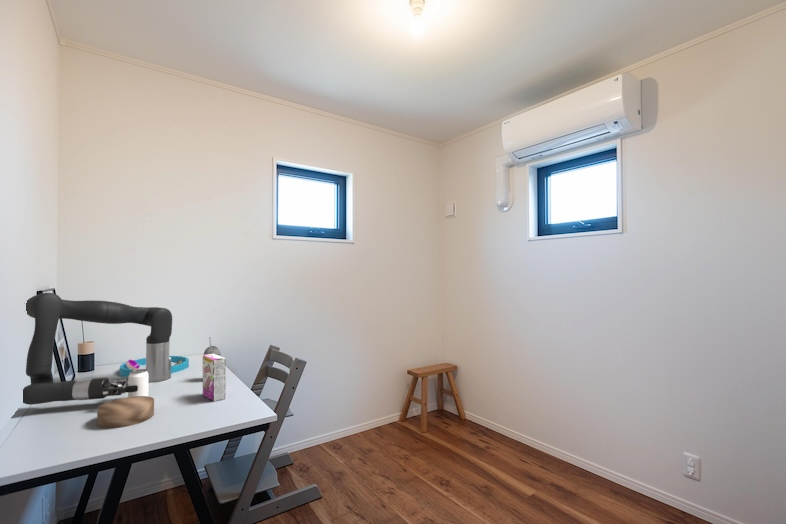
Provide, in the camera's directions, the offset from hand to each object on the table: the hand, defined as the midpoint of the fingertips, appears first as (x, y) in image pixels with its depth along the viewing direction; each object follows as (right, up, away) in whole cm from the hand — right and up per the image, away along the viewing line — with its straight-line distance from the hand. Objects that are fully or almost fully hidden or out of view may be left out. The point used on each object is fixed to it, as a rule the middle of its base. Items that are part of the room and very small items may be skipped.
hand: (141, 385), depth 149 cm
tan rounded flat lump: (+6, -6, -16) cm, 18 cm away
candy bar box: (+25, -7, +6) cm, 27 cm away
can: (-1, -7, 0) cm, 7 cm away
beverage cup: (+13, -7, +30) cm, 33 cm away
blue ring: (-25, -8, +49) cm, 55 cm away
